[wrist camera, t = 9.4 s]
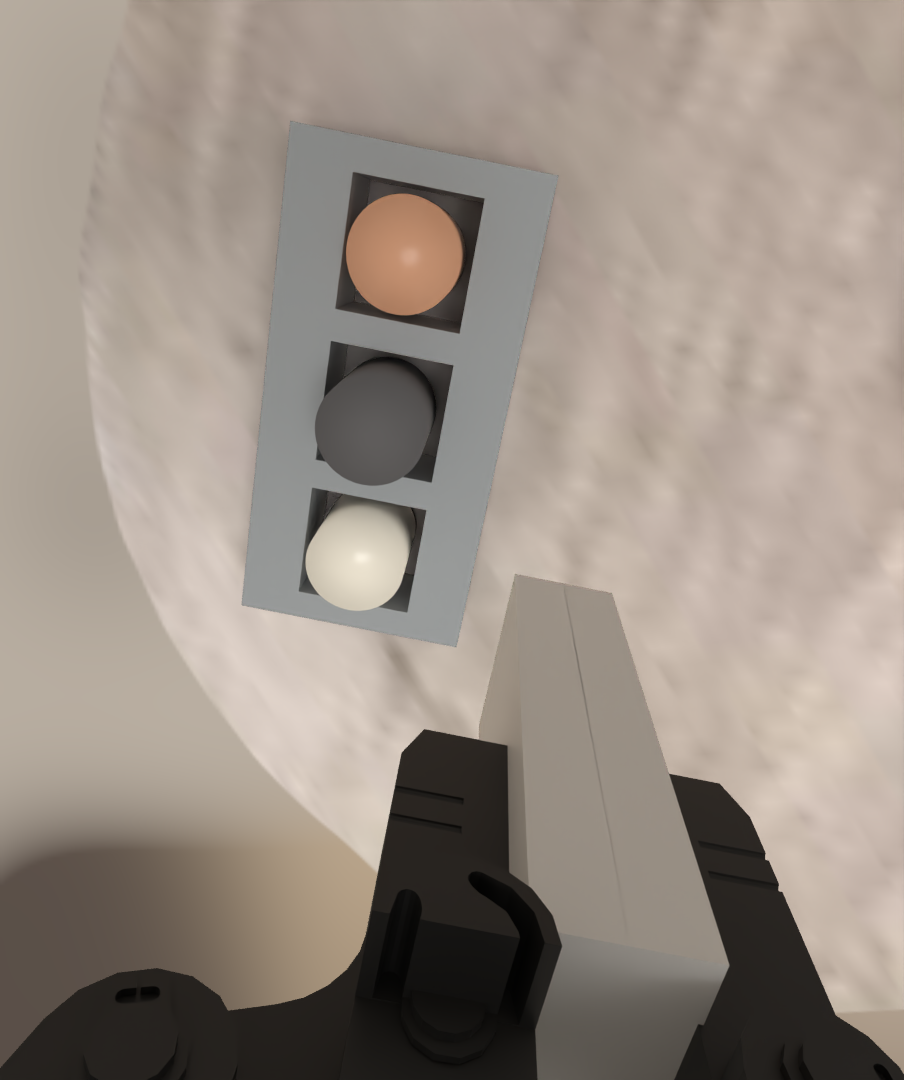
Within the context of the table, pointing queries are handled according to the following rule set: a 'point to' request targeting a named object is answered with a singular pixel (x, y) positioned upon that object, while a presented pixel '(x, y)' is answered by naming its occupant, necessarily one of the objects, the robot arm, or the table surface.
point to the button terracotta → (405, 254)
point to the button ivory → (360, 552)
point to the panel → (336, 320)
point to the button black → (376, 421)
